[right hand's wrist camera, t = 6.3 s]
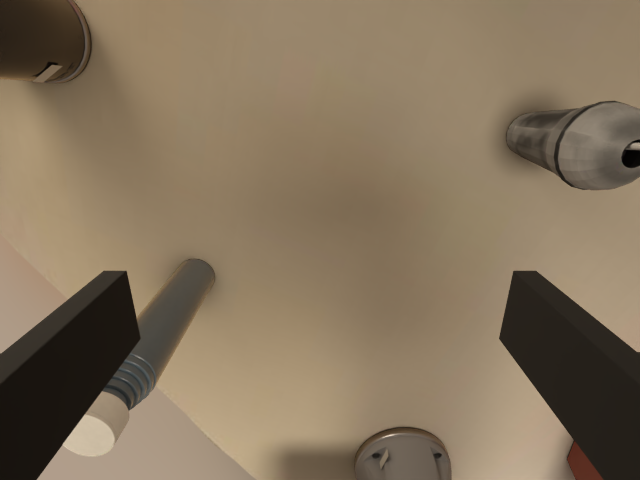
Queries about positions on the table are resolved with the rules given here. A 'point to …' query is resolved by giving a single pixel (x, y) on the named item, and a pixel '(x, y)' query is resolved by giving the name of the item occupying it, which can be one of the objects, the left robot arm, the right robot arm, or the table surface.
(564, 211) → the table surface
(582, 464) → the bucket
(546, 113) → the grey cocktail shaker
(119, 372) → the bottle
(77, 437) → the cap
